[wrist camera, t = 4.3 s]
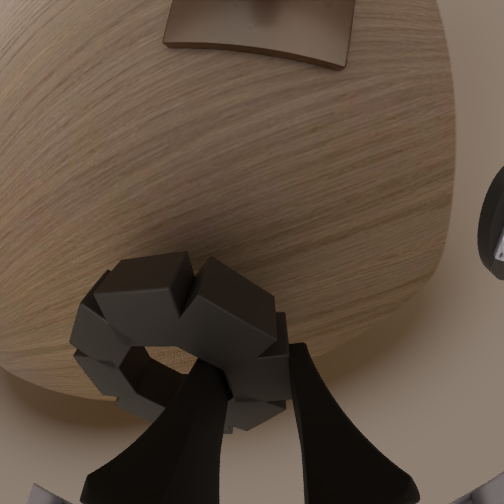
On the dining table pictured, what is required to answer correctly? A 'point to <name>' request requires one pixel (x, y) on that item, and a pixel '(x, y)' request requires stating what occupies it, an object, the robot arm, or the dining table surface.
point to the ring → (183, 336)
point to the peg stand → (265, 28)
